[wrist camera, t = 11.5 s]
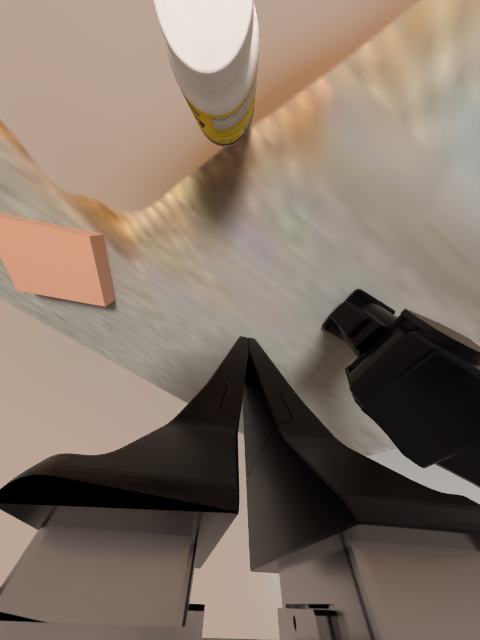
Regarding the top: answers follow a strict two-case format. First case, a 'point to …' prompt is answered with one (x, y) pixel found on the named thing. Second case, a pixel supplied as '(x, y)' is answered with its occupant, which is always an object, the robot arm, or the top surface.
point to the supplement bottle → (214, 61)
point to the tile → (55, 260)
